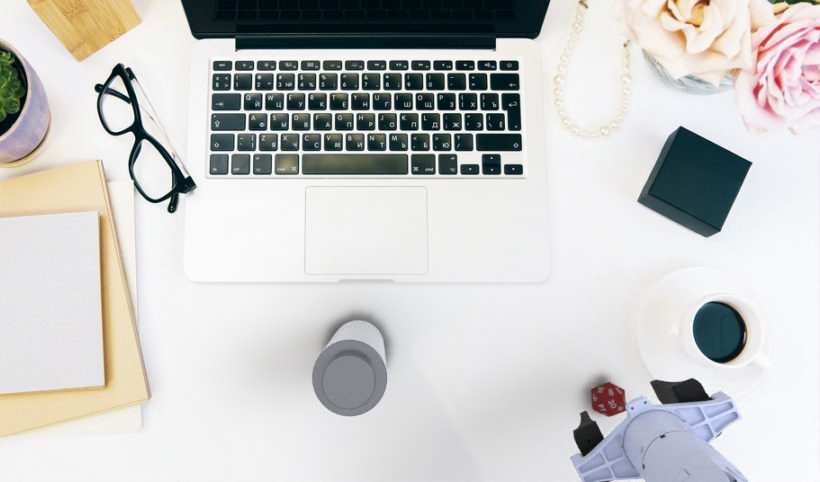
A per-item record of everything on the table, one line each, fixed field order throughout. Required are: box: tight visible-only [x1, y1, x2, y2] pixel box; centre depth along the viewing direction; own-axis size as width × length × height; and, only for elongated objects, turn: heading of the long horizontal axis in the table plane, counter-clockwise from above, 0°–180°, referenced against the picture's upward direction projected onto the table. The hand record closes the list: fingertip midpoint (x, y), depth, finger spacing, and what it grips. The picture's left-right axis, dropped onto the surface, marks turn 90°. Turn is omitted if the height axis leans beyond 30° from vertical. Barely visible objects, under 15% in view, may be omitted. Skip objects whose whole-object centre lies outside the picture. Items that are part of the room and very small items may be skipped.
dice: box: [590, 381, 627, 418], centre depth 69 cm, size 4×4×4 cm
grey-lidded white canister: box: [311, 319, 388, 417], centre depth 60 cm, size 6×6×24 cm
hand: (621, 405), depth 60 cm, fingers open, 7 cm apart
